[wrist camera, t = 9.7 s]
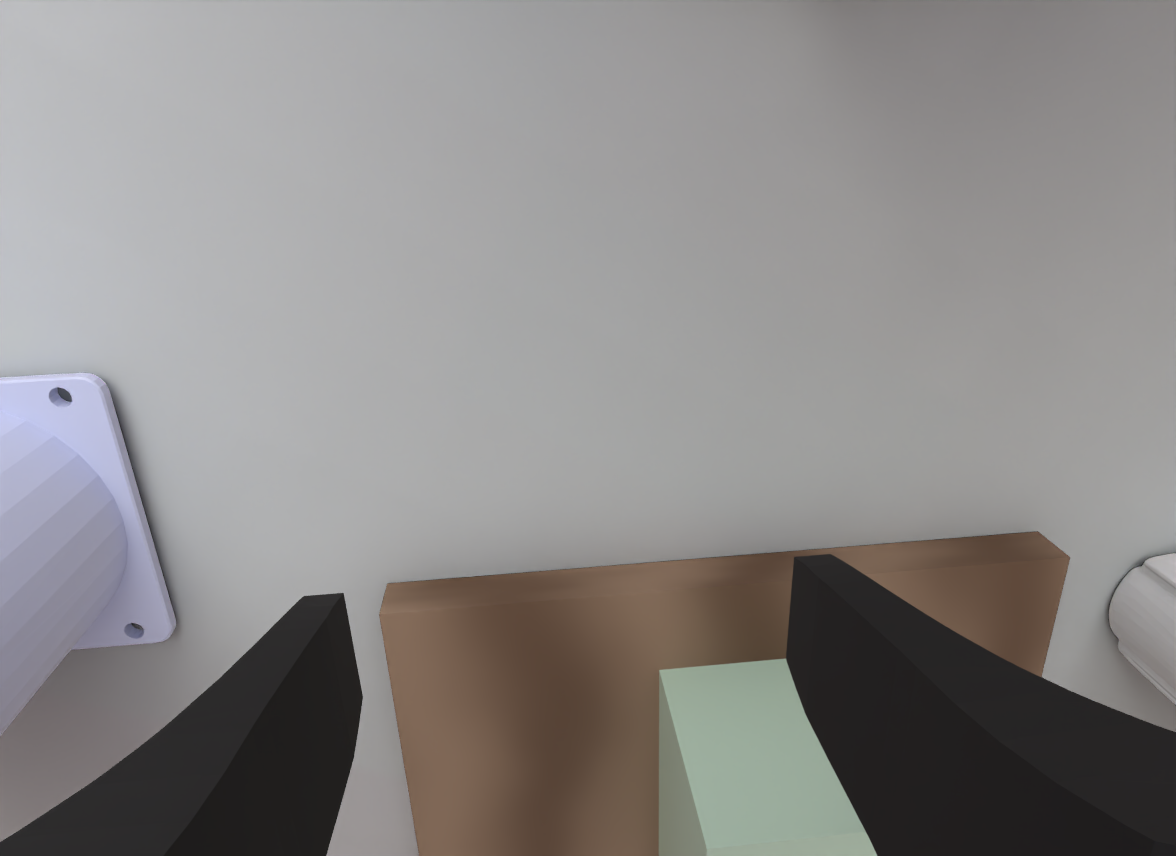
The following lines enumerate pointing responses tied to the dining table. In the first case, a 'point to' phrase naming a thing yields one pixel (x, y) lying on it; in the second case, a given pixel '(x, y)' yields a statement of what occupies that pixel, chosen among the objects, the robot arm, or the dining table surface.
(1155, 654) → the photo printer
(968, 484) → the dining table surface
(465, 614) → the board
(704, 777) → the block
